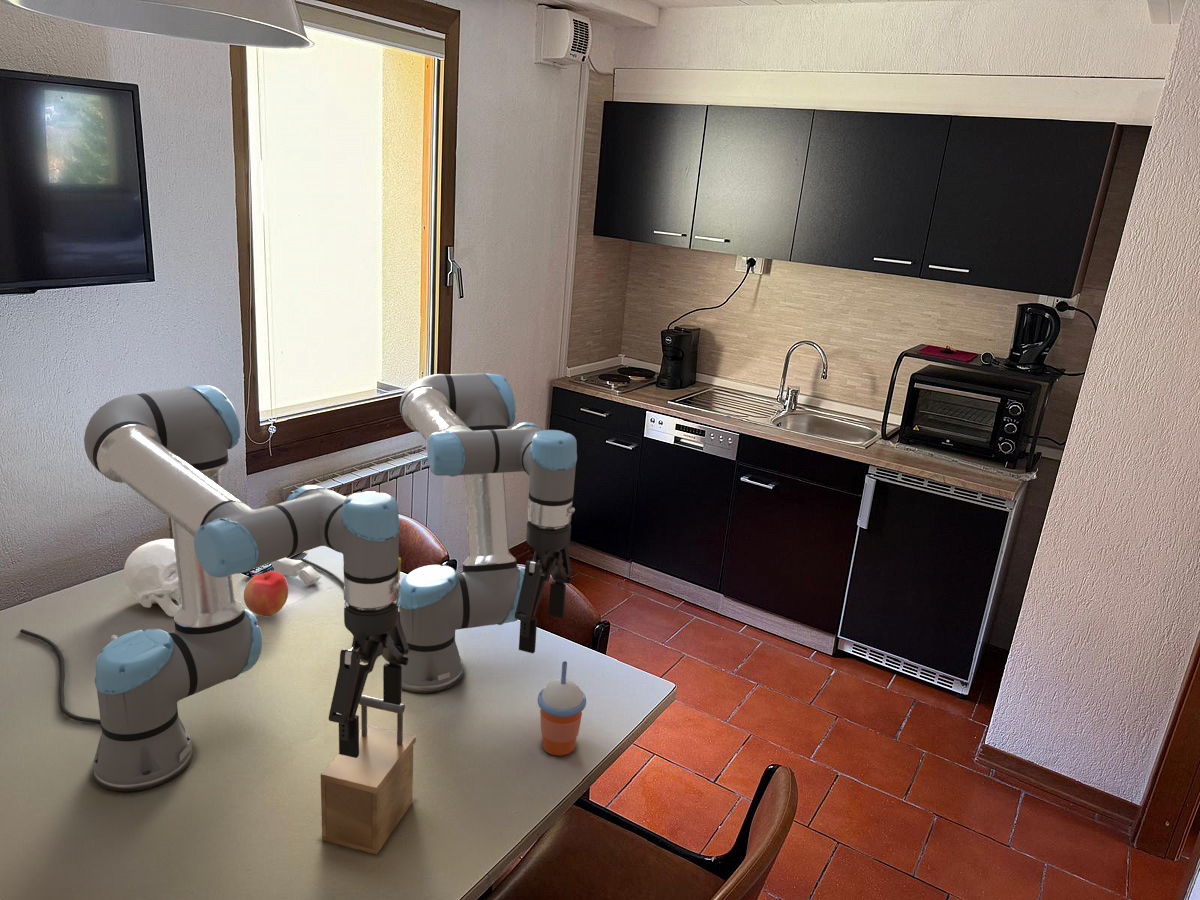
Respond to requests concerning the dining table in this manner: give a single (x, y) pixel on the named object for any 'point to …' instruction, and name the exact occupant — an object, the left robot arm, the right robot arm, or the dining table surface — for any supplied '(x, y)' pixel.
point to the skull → (154, 575)
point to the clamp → (296, 570)
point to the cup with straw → (560, 714)
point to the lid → (371, 752)
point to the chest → (366, 810)
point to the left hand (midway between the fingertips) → (371, 727)
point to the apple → (266, 593)
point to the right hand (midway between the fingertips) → (542, 632)
